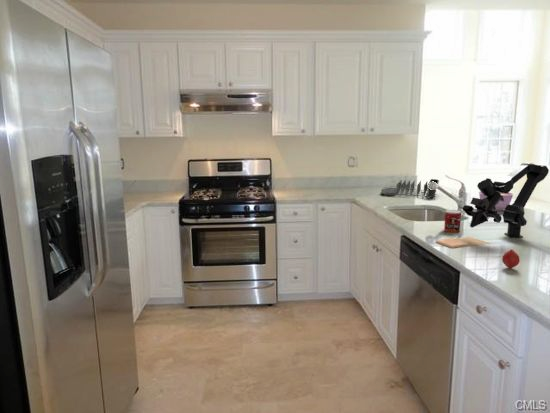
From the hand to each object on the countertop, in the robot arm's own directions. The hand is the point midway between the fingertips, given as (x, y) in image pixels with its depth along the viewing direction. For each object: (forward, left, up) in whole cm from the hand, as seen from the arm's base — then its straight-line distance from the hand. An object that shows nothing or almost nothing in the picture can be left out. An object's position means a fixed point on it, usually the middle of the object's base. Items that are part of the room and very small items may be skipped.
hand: (471, 227), depth 187 cm
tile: (+3, -5, -7) cm, 9 cm away
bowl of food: (-82, +39, -8) cm, 91 cm away
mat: (0, 0, -8) cm, 8 cm away
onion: (+36, +4, -8) cm, 37 cm away
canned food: (-21, -3, -8) cm, 22 cm away
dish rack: (-142, -6, -8) cm, 143 cm away
